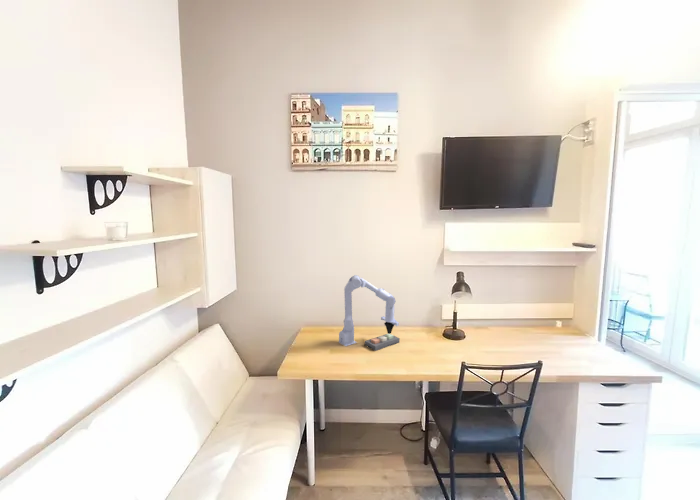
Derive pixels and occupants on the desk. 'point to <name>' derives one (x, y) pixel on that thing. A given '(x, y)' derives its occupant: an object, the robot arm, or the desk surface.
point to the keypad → (381, 343)
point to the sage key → (389, 336)
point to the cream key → (382, 338)
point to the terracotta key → (375, 340)
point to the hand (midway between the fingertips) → (389, 333)
